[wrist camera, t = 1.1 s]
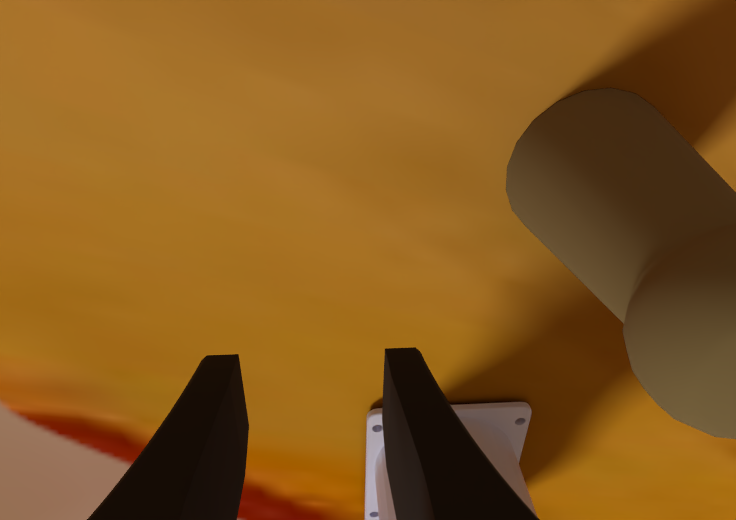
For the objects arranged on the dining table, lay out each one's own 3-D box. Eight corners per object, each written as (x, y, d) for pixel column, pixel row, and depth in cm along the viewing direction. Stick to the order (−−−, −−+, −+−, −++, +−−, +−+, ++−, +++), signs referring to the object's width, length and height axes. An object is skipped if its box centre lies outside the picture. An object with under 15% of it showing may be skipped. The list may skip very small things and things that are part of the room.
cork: (693, 91, 19) (1032, 268, 10) (636, 241, 23) (854, 476, 13) (525, 83, 19) (723, 262, 10) (491, 238, 22) (615, 482, 13)
